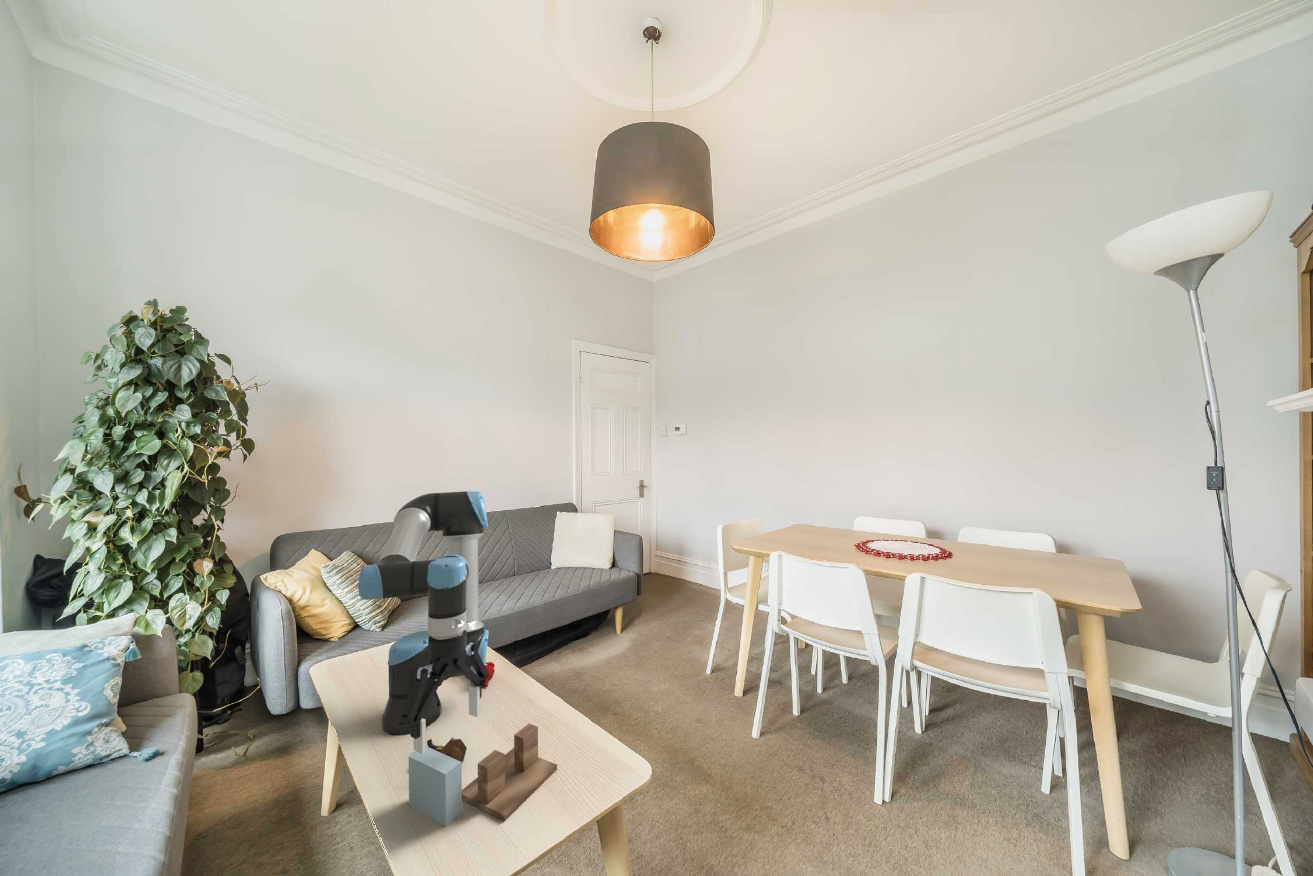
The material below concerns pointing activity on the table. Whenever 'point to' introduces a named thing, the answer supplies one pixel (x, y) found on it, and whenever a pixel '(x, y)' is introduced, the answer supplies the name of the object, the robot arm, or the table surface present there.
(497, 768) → the walnut stand
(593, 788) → the table surface
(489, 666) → the figurine
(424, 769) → the grey-blue slab
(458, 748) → the toy
